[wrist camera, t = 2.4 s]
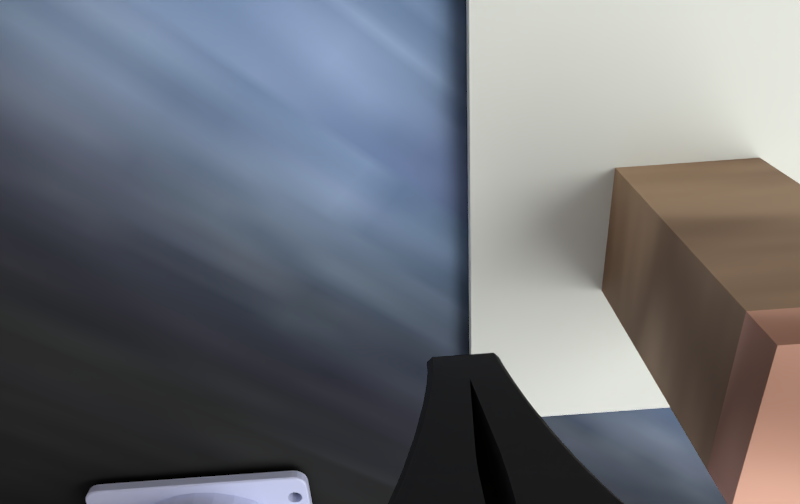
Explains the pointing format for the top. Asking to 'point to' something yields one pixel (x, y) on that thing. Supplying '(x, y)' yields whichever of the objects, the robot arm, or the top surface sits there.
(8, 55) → the top surface
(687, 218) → the walnut block
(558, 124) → the mat
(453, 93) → the top surface
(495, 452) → the robot arm
